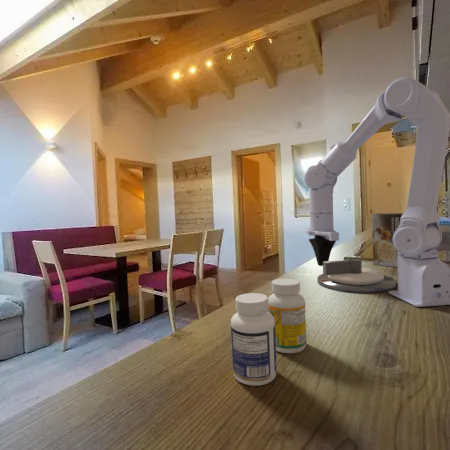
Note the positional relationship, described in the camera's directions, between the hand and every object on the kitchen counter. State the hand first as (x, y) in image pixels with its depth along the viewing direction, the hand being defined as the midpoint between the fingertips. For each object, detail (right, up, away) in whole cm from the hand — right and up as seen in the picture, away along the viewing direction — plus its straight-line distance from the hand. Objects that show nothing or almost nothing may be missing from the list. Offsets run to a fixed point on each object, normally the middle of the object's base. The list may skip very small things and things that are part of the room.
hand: (322, 265), depth 82 cm
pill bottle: (-22, -8, -43) cm, 49 cm away
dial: (+6, -3, -3) cm, 8 cm away
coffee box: (+26, -2, +16) cm, 31 cm away
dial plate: (+7, -4, -3) cm, 9 cm away
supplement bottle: (-16, -7, -36) cm, 40 cm away
